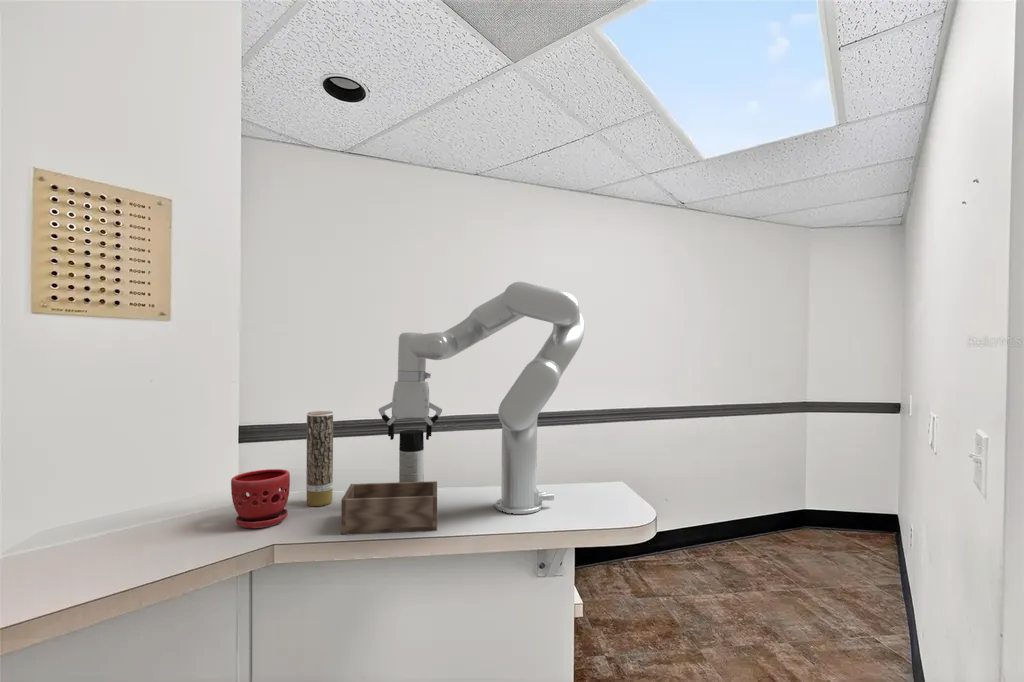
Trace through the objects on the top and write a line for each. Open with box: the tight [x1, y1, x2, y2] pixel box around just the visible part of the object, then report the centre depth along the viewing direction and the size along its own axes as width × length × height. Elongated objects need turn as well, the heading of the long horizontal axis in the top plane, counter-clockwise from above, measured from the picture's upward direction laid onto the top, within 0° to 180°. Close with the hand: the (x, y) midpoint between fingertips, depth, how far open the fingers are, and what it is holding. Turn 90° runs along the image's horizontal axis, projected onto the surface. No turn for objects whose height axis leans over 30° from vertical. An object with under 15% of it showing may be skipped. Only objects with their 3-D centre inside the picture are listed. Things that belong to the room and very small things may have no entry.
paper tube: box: [305, 410, 334, 507], centre depth 147 cm, size 7×7×25 cm
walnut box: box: [340, 480, 438, 536], centre depth 132 cm, size 22×14×8 cm, turn 98°
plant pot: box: [230, 468, 291, 529], centre depth 131 cm, size 13×13×12 cm
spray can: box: [398, 429, 425, 482], centre depth 147 cm, size 7×7×20 cm
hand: (409, 439), depth 147 cm, fingers open, 9 cm apart
